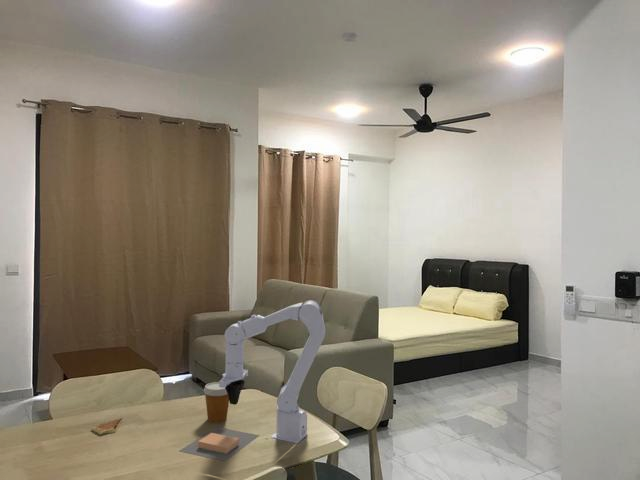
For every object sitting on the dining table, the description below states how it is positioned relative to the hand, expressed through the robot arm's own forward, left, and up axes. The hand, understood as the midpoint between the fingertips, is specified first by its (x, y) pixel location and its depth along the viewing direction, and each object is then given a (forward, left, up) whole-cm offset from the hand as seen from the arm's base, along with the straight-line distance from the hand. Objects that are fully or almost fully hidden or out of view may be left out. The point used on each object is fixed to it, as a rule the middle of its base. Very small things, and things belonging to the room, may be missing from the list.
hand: (233, 403), depth 161 cm
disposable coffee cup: (+11, -8, -10) cm, 17 cm away
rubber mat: (-1, +8, -10) cm, 13 cm away
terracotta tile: (-2, +7, -8) cm, 11 cm away
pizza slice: (+40, +13, -11) cm, 44 cm away
